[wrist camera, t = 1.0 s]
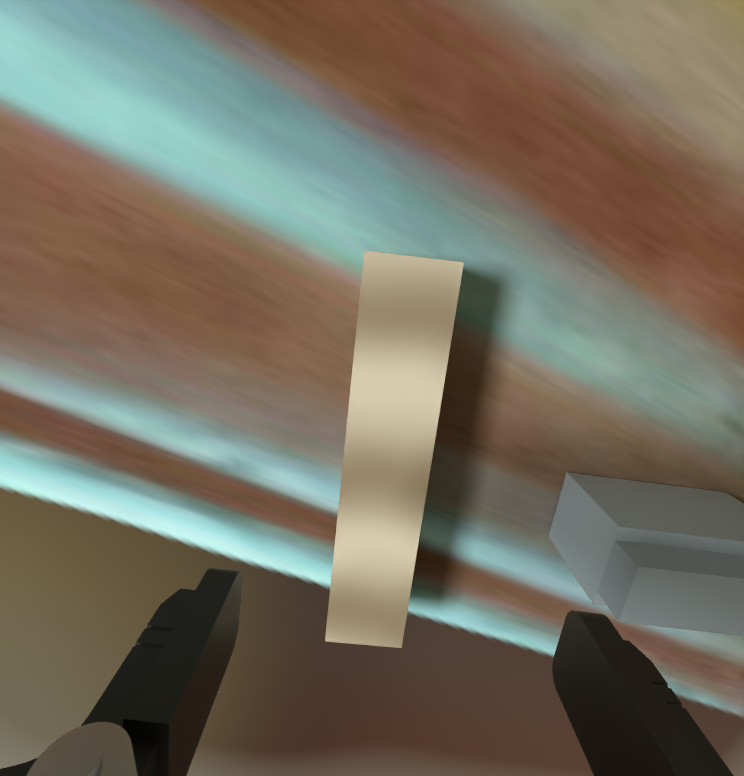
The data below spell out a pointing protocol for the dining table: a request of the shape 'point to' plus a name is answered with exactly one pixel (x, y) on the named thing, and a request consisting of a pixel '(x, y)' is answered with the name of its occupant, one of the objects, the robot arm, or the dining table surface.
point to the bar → (389, 441)
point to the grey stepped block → (654, 551)
